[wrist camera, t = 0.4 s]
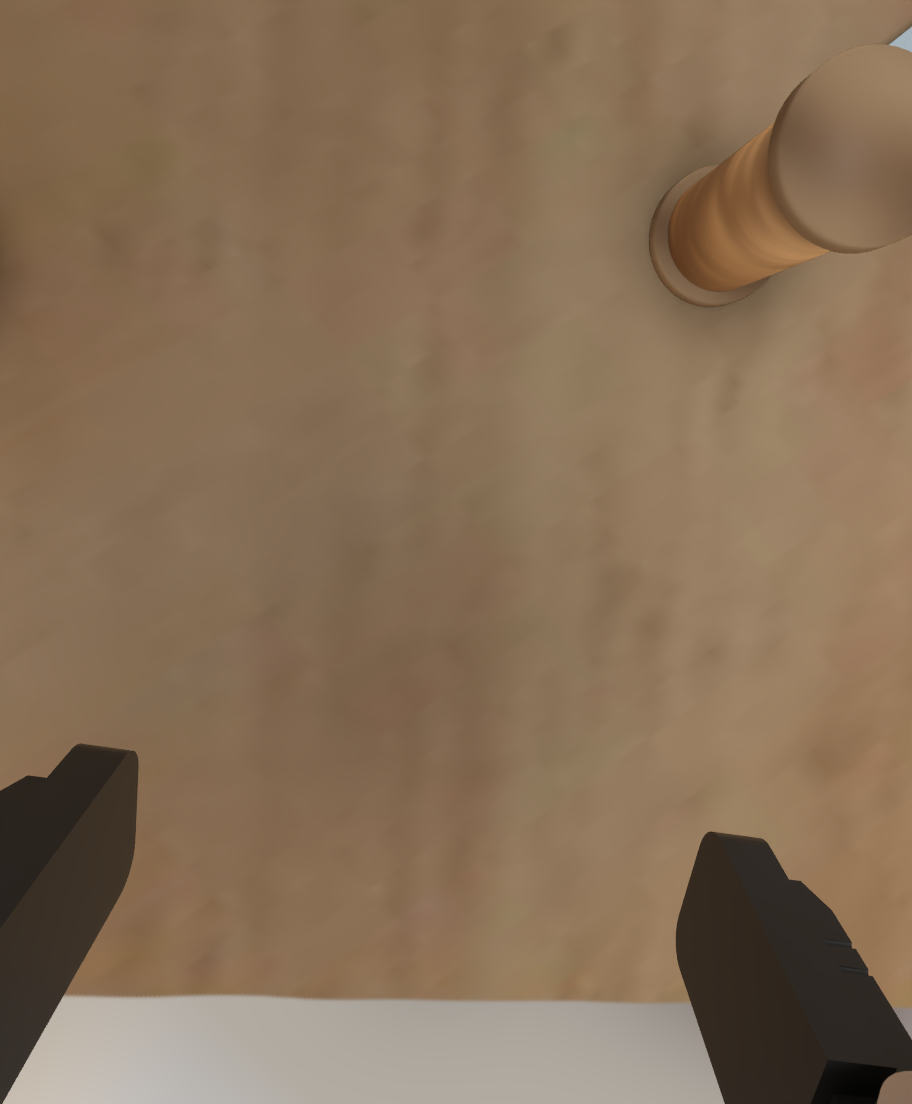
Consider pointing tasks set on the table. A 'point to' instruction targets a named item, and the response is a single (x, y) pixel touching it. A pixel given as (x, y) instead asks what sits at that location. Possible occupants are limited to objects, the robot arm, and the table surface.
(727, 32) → the table surface
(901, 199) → the cord spool
